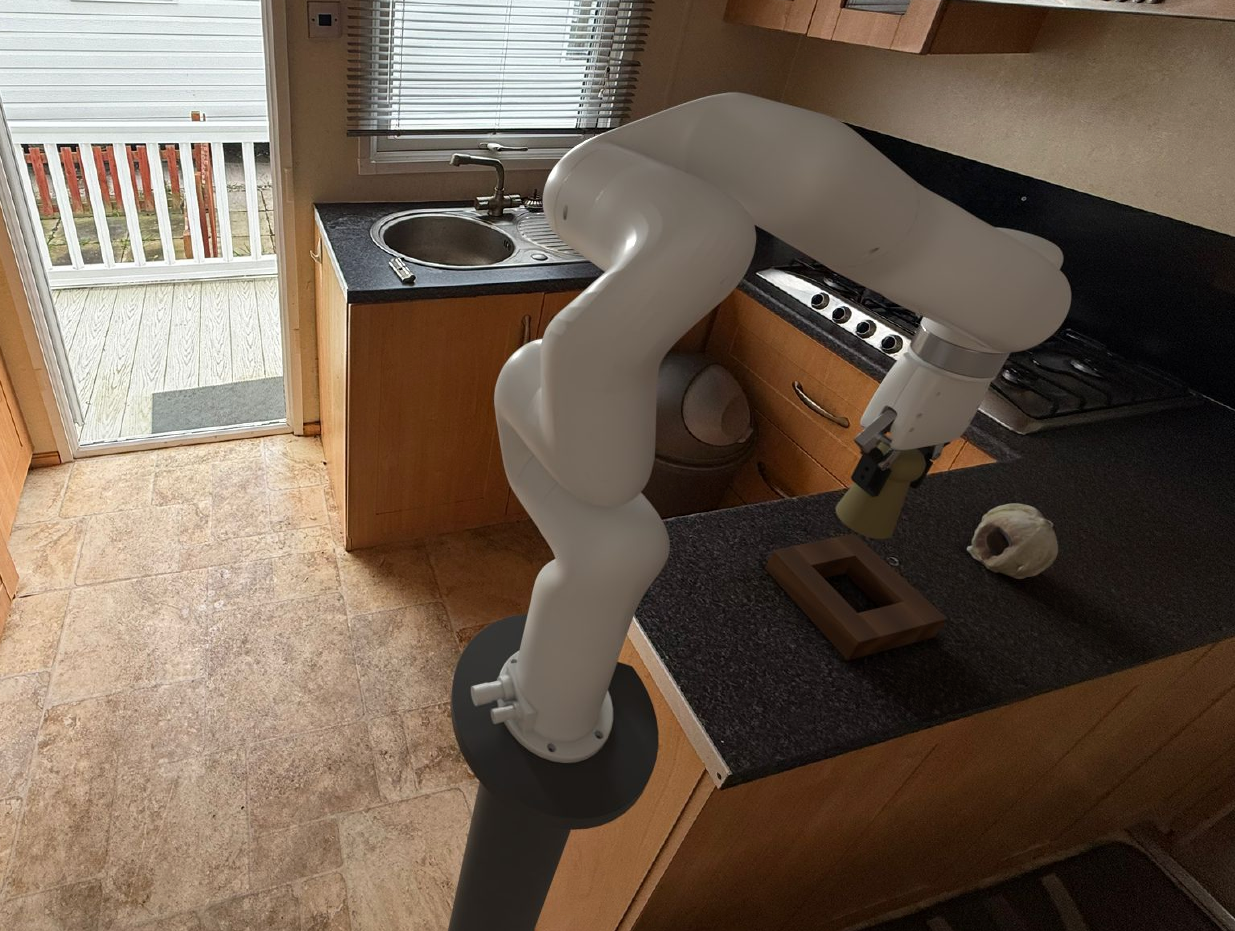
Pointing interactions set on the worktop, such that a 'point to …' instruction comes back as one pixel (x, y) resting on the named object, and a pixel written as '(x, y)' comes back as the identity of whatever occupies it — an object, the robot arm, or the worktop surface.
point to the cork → (881, 497)
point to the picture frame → (846, 629)
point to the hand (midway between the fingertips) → (884, 482)
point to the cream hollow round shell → (1015, 541)
